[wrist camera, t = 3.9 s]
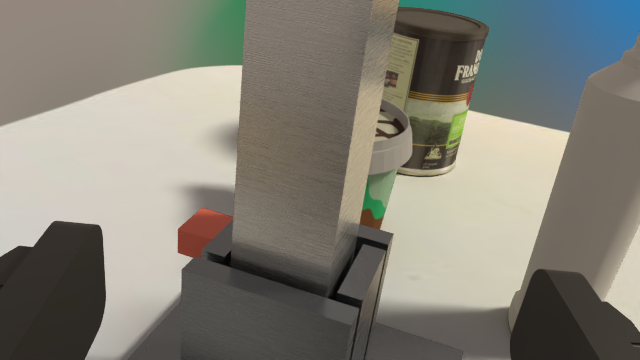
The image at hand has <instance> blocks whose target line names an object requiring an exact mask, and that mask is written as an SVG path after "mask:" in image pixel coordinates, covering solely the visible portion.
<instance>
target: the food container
mask: <svg viewBox="0 0 640 360" xmlns="http://www.w3.org/2000/svg"><path fill="white" fill-rule="evenodd" d="M411 155H412V129H411V126H410V121H409V118H408V116H407V114H406V113H405V112H404V111H403V110H402V109H400V108H399V107H398V106H396V105H395V104H393V103H391V102H389V101H387V100H385V99H383V98H382V99H381V105H380V111H379V116H378V122H377V128H376V133H375V139H374V145H373V150H372V156H371V162H370V167H369V173H368V178H367V184H366V190H365V195H364V201H363V207H362V212H361V218H360V224H361V225H364V226H368V227H371V228H375V229H379V230H380V228H381V224H382V221H383V218H384V214H385V211H386V207H387V204H388V201H389V197H390V194H391V190H392V187H393V184H394V180H395V177H396V173H397V170H398V167H400V166H402V165H403V164H405V163H406V162H407V161H408V160H409V159H410V157H411Z"/></svg>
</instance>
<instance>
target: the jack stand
mask: <svg viewBox="0 0 640 360" xmlns="http://www.w3.org/2000/svg"><path fill="white" fill-rule="evenodd" d="M232 232H233V217H231V216H228V215H224V214H221V213H218V212H214V211H211V210H207V209H204V208H202V209H200V210H199V211H198V212H197V213H196V214H195V215H193V216H192V217H191V218H190V219H189V220H188V221H187V222H185V223H184V224H183V225H182V226H181V227H180V228H179V229H178V253H180V254H183V255H186V256H190V257H193V259H192V260H191V261H190V262H189V263H188V264H187V265H186V266H185V267H184V268H183V269H182V290H181V302H180V303H179V305H178V306H177V307H176V308H175V309H174V310H173V311H172V312H171V313H170V314H169V315H168V316H167V318H166V319H165V320H164V321H163V322H162V323H161V324H160V325H159V326H158V327H157V328H156V329H155V330H154V332H153V333H152V334H151V335H150V336H149V337H148V338H147V339H146V340H145V341H144V342H143V343H142V344H141V346H140V347H139V348H138V349H137V350H136V351H135V352H134V353H133V354H132V355H131V356H130V357H129V359H128V360H461V359H462V354H463V351H462V350H458V349H455V348H452V347H449V346H446V345H443V344H440V343H437V342H434V341H431V340H428V339H424V338H421V337H418V336H415V335H412V334H409V333H406V332H403V331H400V330H397V329H394V328H390V327H387V326H384V325H381V324H378V323H375V320H376V315H377V311H378V306H379V301H380V296H381V292H382V287H383V282H384V277H385V273H386V268H387V263H388V258H389V254H390V249H391V244H392V239H393V235H394V234H393V233H389V232H386V231H382V230H379V229H375V228H371V227H368V226H364V225H361V224H359V229H358V235H357V241H356V246H355V252H354V258H353V263H352V266H351V268H350V270H349V272H348V274H347V276H346V277H345V279H344V281H343V283H342V285H341V287H340V289H339V290H338V292H337V298H336V301H334V300H331V299H328V298H325V297H321V296H318V295H315V294H312V293H309V292H306V291H303V290H299V289H296V288H293V287H290V286H287V285H284V284H281V283H278V282H274V281H271V280H268V279H265V278H262V277H259V276H256V275H253V274H249V273H246V272H243V271H240V270H237V269H234V268H231V267H230V265H231V249H232Z"/></svg>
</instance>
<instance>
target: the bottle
mask: <svg viewBox="0 0 640 360" xmlns="http://www.w3.org/2000/svg"><path fill="white" fill-rule="evenodd" d="M639 224H640V32H639V35H638V38H637V40H636V43H635V45H634V47H633V48H632V49H630V50H628V51H625V52H624V54H623V57H622V59H621V60H620V61H618V62H616V63H614V64H612V65H610V66H608V67H606V68H604V69H602V70H600V71H598V72H596V73H594V74H592V75H590V76H589V77H588V79H587V82H586V85H585V89H584V91H583V94H582V98H581V101H580V104H579V107H578V110H577V114H576V116H575V120H574V123H573V126H572V129H571V132H570V135H569V138H568V142H567V145H566V148H565V151H564V154H563V157H562V160H561V164H560V167H559V170H558V173H557V176H556V179H555V182H554V186H553V189H552V192H551V195H550V198H549V201H548V204H547V208H546V211H545V214H544V217H543V220H542V223H541V226H540V230H539V233H538V236H537V239H536V242H535V245H534V248H533V252H532V255H531V258H530V261H529V264H528V267H527V270H526V274H525V277H524V280H523V283H522V286H521V289H520V290H519V291H517V292H516V293H515V295H514V297H513V299H512V302H511V305H510V308H509V313H508V322H509V327H510V331H511V332H512V330H513V327H514V324H515V321H516V319H517V316H518V313H519V310H520V307H521V304H522V302H523V299H524V296H525V293H526V290H527V287H528V285H529V282H530V279H531V277H532V275H533V273H534V272H535V271H536V270H537V269H549V270H559V271H569V272H579V273H581V274H582V275H583V276H584V277H585V278H586V279H587V281H588V282H589V284H590V285H591V287H592V288H593V289H594V291H595V292H596V294H597V295H598V297H599V298H600V300H601V301H603V302H604V300H605V298H606V296H607V293H608V291H609V289H610V287H611V285H612V283H613V280H614V278H615V276H616V274H617V272H618V270H619V268H620V265H621V263H622V261H623V259H624V257H625V255H626V252H627V250H628V248H629V246H630V244H631V242H632V240H633V237H634V235H635V233H636V231H637V229H638V227H639Z"/></svg>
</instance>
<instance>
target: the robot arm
mask: <svg viewBox="0 0 640 360" xmlns="http://www.w3.org/2000/svg"><path fill="white" fill-rule="evenodd" d="M105 301H106V289H105V270H104V251H103V235H102V230H101V227H100V226H99V225H94V224H84V223H73V222H63V221H54V222H53V223H52V224H51V225H50V226H49V227H48V228H47V230H46V231H45V232H44V234H43V235H42V236H41V238H40V239H39V240H38V241H37V243H36V244H35V245H34V247H26V246H18V247H16V248H14V249H13V250H11V251H9V252H8V253H6V254H4V255H3V256H1V257H0V360H85V357H86V355H87V353H88V351H89V349H90V347H91V345H92V343H93V341H94V339H95V337H96V334H97V332H98V330H99V328H100V325H101V322H102V319H103V314H104V309H105ZM510 354H511V360H640V332H639V331H638V329H637V328H636V327H635V325H634V324H633V323H632V321H630V320H629V319H628V318H627V317H625V316H624V315H623V314H622V313H620V312H619V311H618V310H617V309H615V308H614V307H613V306H612V305H611V304H609V303H608V302H603V301H601V300H600V298H599V297H598V295H597V294H596V292H595V291H594V289H593V288H592V287H591V285H590V284H589V282H588V281H587V279H586V278H585V277H584V276H583V275H582V274H581V273H579V272H569V271H559V270H549V269H537V270H536V271H535V272H534V273H533V275H532V277H531V279H530V282H529V285H528V287H527V290H526V293H525V296H524V299H523V302H522V304H521V307H520V310H519V313H518V316H517V319H516V321H515V324H514V327H513V330H512V334H511V340H510Z"/></svg>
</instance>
